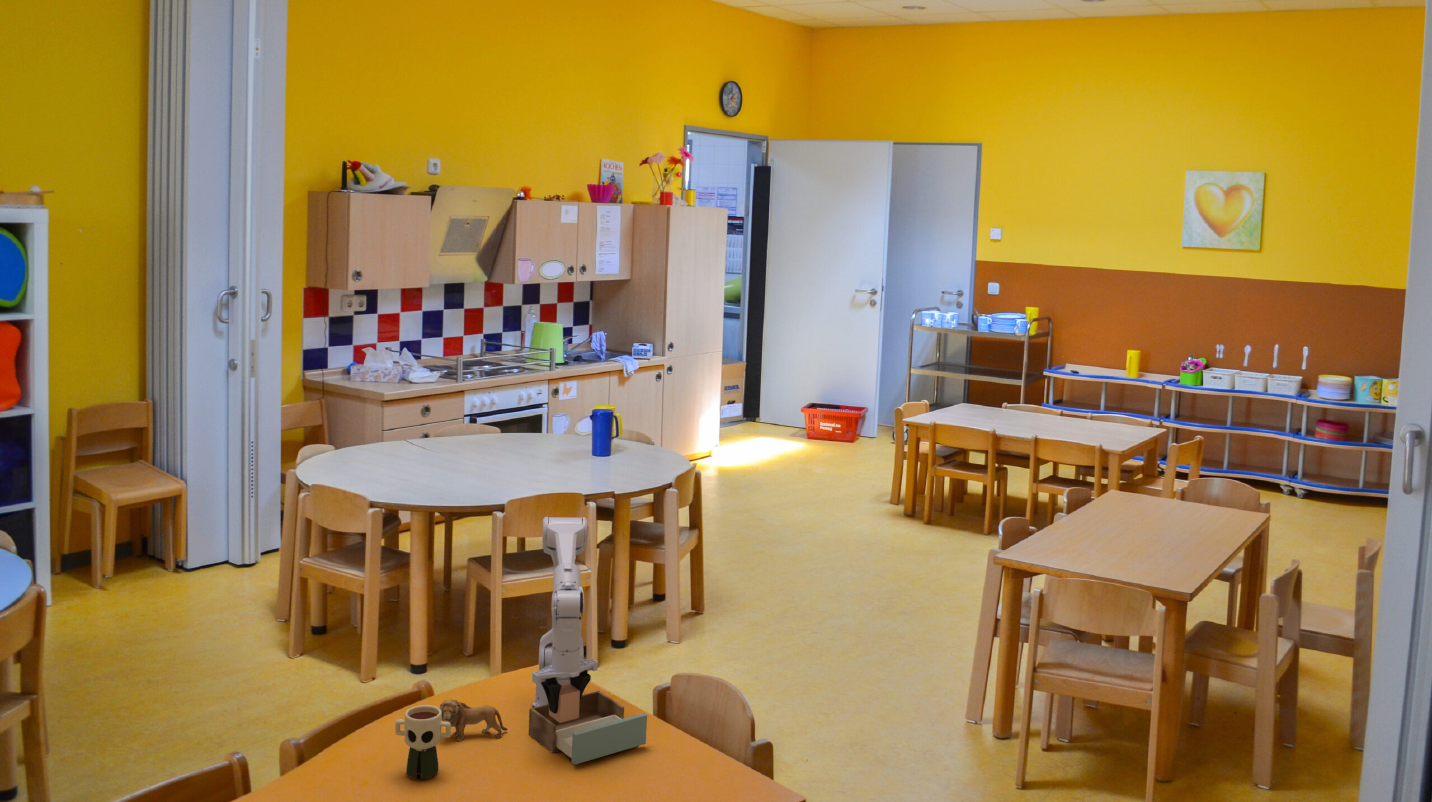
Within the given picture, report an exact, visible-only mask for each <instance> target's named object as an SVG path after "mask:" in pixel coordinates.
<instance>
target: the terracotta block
mask: <svg viewBox="0 0 1432 802" xmlns="http://www.w3.org/2000/svg"><path fill="white" fill-rule="evenodd" d="M561 686H562V687H561V690H560V694H559V700H558V711H557V713H555V714H554V713H553V712H551V711H550V709H549V715H550V716H551V717H553V718H554V719H555V720H557V721H558V722H559V723H562V722H566V721H569V720H573V719H577V718H579V701H580V690H578V689H577V688H575V687H574V686H572V685H571V684H569V683H567V684H563V685H561Z"/></svg>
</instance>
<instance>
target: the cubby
mask: <svg viewBox="0 0 1432 802" xmlns="http://www.w3.org/2000/svg"><path fill="white" fill-rule="evenodd" d="M528 711H529V714H528V715H529V716H528V735H529V736H530V737H531V738H532V739H534V741H536V742H537V743H538V744H540V745H541V746H543V748H545V749H547V750H548V751H549V752H550V753H552V754H555V753H558V752H559V753H560V752H562V751H561V750H560V749H558V748H557V747H556V730H560V729H564V728H567V727H571V726H575V725H578V724H582V723H586V722H589V721H593V720H597V719H600V718H604V717H608V716H611V715H616V716H618V717H619V718H621V719H624V718H625V706H624V705H622V704H620V703H619V702H617V701H615V700H614V699H612V698H610V696H607V695H606V694H605V693H603V692H602V691H600V690H597V691H593V692H589V693H585V694H583V695H582V697H581V700H580V704H579V718H577V719H573V720H569V721H566V722H562V723H559V722H558V721H557V720H555V719H554V718H553V717H551V716H550V715H549V704H545V705H541V706H537V707H534V706H533V707H529V710H528Z"/></svg>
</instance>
